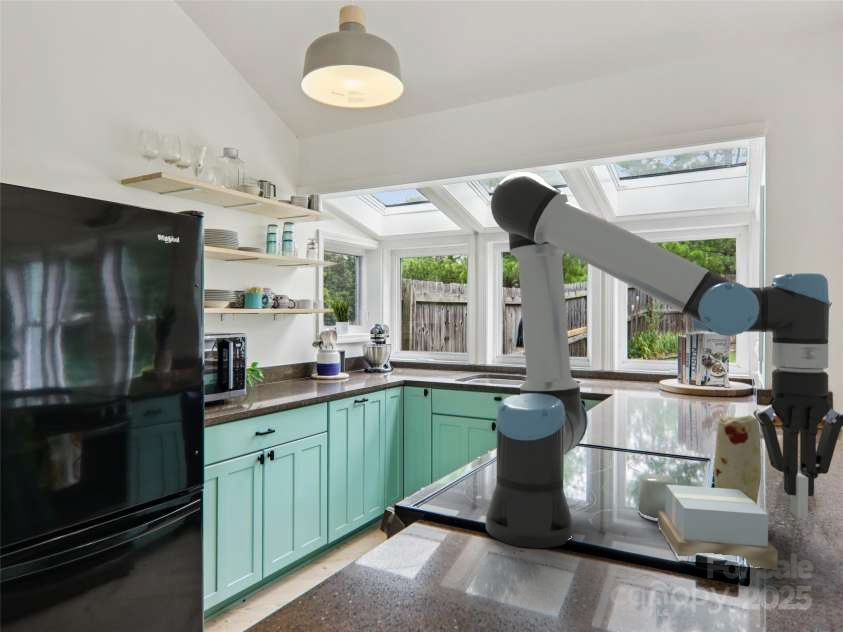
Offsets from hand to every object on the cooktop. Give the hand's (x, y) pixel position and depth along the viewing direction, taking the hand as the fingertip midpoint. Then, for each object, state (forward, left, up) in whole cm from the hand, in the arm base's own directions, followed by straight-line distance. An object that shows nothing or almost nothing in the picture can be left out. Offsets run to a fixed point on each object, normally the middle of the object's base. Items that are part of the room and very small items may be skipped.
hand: (798, 515), depth 89 cm
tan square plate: (-13, 0, -6) cm, 14 cm away
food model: (-5, +13, -7) cm, 15 cm away
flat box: (-13, 0, -3) cm, 13 cm away
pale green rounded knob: (-19, +13, -6) cm, 24 cm away
